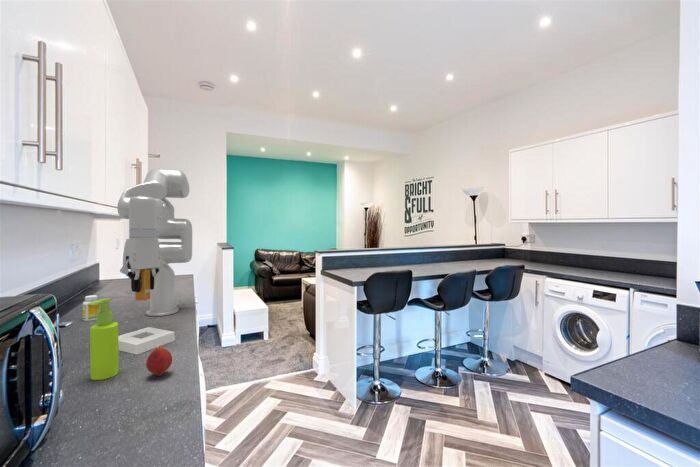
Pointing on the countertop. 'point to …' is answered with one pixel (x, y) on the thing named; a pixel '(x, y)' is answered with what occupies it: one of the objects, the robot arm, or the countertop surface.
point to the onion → (159, 361)
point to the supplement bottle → (90, 308)
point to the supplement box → (144, 285)
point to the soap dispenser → (104, 343)
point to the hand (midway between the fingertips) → (143, 289)
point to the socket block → (144, 340)
